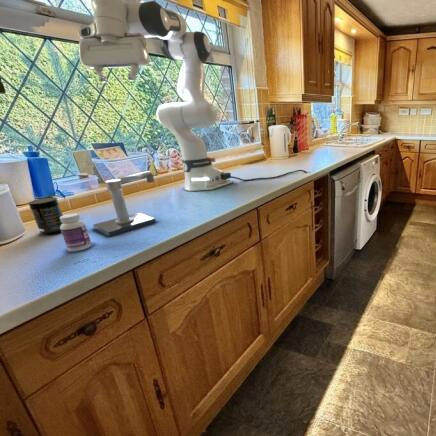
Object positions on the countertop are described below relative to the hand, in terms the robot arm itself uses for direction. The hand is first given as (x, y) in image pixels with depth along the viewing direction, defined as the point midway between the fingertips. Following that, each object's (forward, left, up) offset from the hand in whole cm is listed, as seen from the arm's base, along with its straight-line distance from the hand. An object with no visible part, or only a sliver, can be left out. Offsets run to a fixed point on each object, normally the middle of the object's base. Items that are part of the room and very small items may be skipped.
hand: (117, 81), depth 95 cm
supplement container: (+25, -11, -45) cm, 53 cm away
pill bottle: (+25, +12, -45) cm, 53 cm away
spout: (+4, +2, -33) cm, 34 cm away
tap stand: (+10, +4, -45) cm, 46 cm away
